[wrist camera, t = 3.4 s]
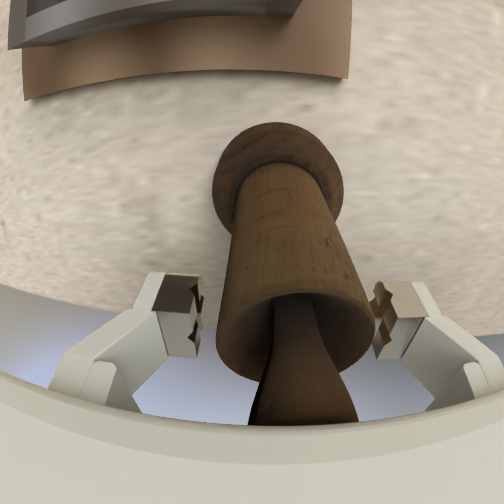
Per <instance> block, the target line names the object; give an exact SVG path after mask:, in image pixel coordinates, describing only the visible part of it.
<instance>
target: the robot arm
mask: <svg viewBox="0 0 504 504" xmlns="http://www.w3.org/2000/svg"><path fill="white" fill-rule="evenodd" d="M202 289H203V281H202V276H201V275H198V274H185V273H173V272H158V271H151V272H149V273H148V275H147V277H146V279H145V281H144V283H143V285H142V288H141V290H140V292H139V294H138V296H137V299H136V301H135V303H134V305H133V308H132V309H126V310H125V311H123V312H122V313H120V314H119V315H118V316H116V317H114V318H113V319H112V320H110V321H108V322H107V323H106V324H104V325H103V326H101V327H100V328H98V329H97V330H96V331H94V332H93V333H91V334H90V335H88V336H87V337H85V338H84V339H83V340H81V341H80V342H78V343H77V344H75V345H74V346H73V347H71V348H70V349H68V350H67V351H65V353H64V355H63V357H62V359H61V361H60V363H59V365H58V368H57V370H56V372H55V374H54V377H53V378H52V380H51V383H50V385H49V388H48V389H46V388H43V387H41V386H38V385H35V384H32V383H30V382H27V381H24V380H22V379H19V378H17V377H14V376H12V375H9V374H7V373H5V372H2V371H0V504H504V368H503V366H502V364H501V362H500V359H499V357H498V356H497V355H496V354H495V353H494V352H492V351H491V350H490V349H489V348H487V347H486V346H485V345H483V344H482V343H481V342H480V341H478V340H477V339H476V338H475V337H473V336H472V335H471V334H469V333H468V332H467V331H465V330H464V329H463V328H461V327H460V326H459V325H457V324H456V323H455V322H453V321H452V320H451V319H449V318H448V317H447V316H442V314H441V312H440V311H439V309H438V307H437V305H436V303H435V301H434V300H433V298H432V296H431V294H430V292H429V291H428V289H427V287H426V285H425V284H424V283H423V282H422V281H378V283H377V284H376V285H375V288H374V291H373V292H374V295H375V298H374V299H373V300H372V301H370V302H369V305H370V307H371V310H372V313H373V316H374V319H375V336H374V339H373V341H372V346H373V349H374V352H375V356H376V359H377V360H386V359H401V361H402V362H403V363H404V364H405V365H406V366H407V367H408V369H409V370H410V371H411V372H412V373H413V374H414V375H415V376H416V377H417V379H418V380H419V381H420V382H421V383H422V384H423V385H424V386H425V387H426V389H427V390H428V391H429V392H430V393H431V394H432V395H433V396H434V398H435V400H434V401H433V402H432V403H431V404H430V405H429V406H428V407H427V409H426V410H425V412H421V413H415V414H410V415H405V416H399V417H392V418H386V419H379V420H371V421H363V422H353V423H342V424H328V425H309V426H250V425H231V424H216V423H206V422H196V421H187V420H180V419H173V418H166V417H160V416H153V415H148V414H142V412H141V411H140V409H139V407H138V406H137V404H136V402H135V400H134V399H133V397H132V394H133V393H134V392H135V391H136V390H137V389H138V388H139V387H140V386H141V385H142V384H143V383H144V382H145V381H146V380H147V379H148V378H149V377H150V376H151V375H152V374H153V373H154V372H155V371H156V369H157V368H159V366H160V365H161V364H162V363H163V362H164V361H165V360H166V359H167V358H168V356H177V357H190V358H197V355H198V349H199V345H200V333H199V331H200V330H201V329H202V328H203V324H204V315H205V301H204V297H203V296H202V295H201V293H202Z"/></svg>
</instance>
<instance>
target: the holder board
mask: <svg viewBox="0 0 504 504" xmlns="http://www.w3.org/2000/svg"><path fill="white" fill-rule="evenodd" d="M351 21H352V0H11V4H10V15H9V30H8V50H11V49H20V48H22V74H23V91H24V101H27V100H30V99H33V98H37V97H40V96H43V95H47V94H50V93H54V92H58V91H62V90H66V89H70V88H74V87H78V86H83V85H87V84H92V83H97V82H102V81H108V80H113V79H119V78H126V77H133V76H140V75H148V74H157V73H167V72H180V71H196V70H267V71H284V72H296V73H306V74H316V75H324V76H331V77H338V78H345V79H348V71H349V58H350V42H351Z"/></svg>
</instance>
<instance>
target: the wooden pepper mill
mask: <svg viewBox="0 0 504 504" xmlns="http://www.w3.org/2000/svg"><path fill="white" fill-rule="evenodd" d="M343 195H344V188H343V180H342V176H341V172H340V170H339V167H338V165H337V163H336V161H335V160H334V158H333V156H332V155H331V154H330V152H329V151H328V150H327V148H326V147H325V146H324V145H323V143H322V142H321V141H320V140H319V139H318V138H317V137H315V136H314V135H313V134H311V133H310V132H308V131H307V130H305V129H303V128H301V127H298V126H295V125H292V124H288V123H281V122H271V123H264V124H260V125H256V126H253V127H251V128H249V129H247V130H245V131H243V132H242V133H240V134H239V135H237V136H236V137H235V138H234V139H233V140H232V141H231V142H230V143H229V145H228V146H227V147H226V149H225V150H224V152H223V154H222V156H221V158H220V161H219V163H218V166H217V169H216V171H215V175H214V179H213V186H212V196H213V203H214V207H215V210H216V213H217V215H218V217H219V219H220V221H221V222H222V224H223V225H224V227H225V228H226V229H227V230H228V231H229V232H230V233H231V234H232V239H231V245H230V252H229V259H228V265H227V271H226V278H225V284H224V290H223V295H222V301H221V307H220V313H219V319H218V325H217V332H216V348H217V351H218V354H219V356H220V358H221V359H222V361H223V362H224V363H225V365H226V366H227V367H229V368H230V369H231V370H232V371H234V372H235V373H237V374H239V375H240V376H243V377H245V378H248V379H250V380H254V381H257V382H260V383H259V386H258V389H257V392H256V395H255V398H254V401H253V405H252V408H251V412H250V416H249V421H248V425H250V426H309V425H328V424H342V423H353V422H359V420H358V417H357V413H356V410H355V407H354V405H353V402H352V400H351V397H350V395H349V393H348V391H347V389H346V387H345V384H344V383H343V381H342V379H341V377H340V375H339V373H340V372H341V371H343V370H345V369H347V368H348V367H350V366H351V365H353V364H354V363H356V362H357V361H358V360H359V359H360V358H361V357H362V356H363V355H364V354H365V352H366V351H367V350H368V349H369V347H370V345H371V343H372V341H373V339H374V336H375V319H374V316H373V313H372V310H371V307H370V305H369V302H368V300H367V297H366V294H365V292H364V289H363V287H362V284H361V282H360V280H359V277H358V275H357V272H356V270H355V267H354V265H353V263H352V260H351V258H350V256H349V253H348V251H347V249H346V246H345V244H344V242H343V239H342V237H341V235H340V233H339V230H338V228H337V226H336V224H335V222H336V220H337V218H338V216H339V213H340V211H341V207H342V203H343Z"/></svg>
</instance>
